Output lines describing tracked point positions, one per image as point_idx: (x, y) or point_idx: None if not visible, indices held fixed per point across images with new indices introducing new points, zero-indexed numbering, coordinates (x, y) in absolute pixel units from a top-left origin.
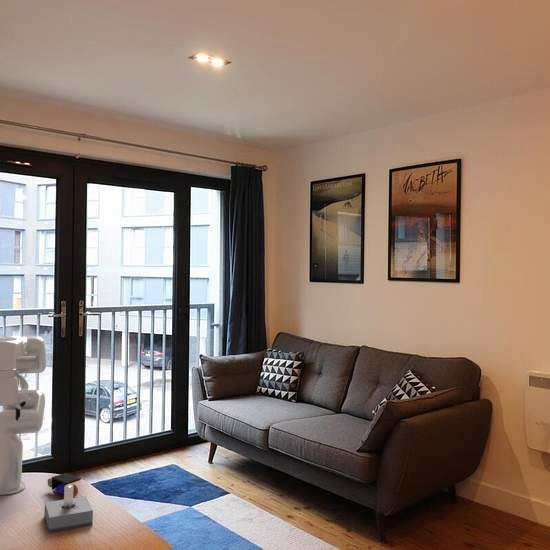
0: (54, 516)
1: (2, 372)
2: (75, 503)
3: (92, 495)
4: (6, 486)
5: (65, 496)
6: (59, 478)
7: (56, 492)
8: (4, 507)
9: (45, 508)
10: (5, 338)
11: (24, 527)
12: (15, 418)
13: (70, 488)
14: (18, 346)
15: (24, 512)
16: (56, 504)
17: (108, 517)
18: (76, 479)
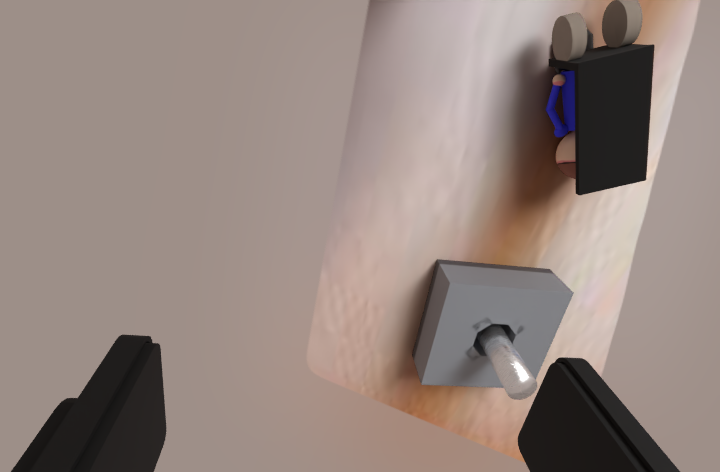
0: (434, 383)
1: None
2: (519, 330)
3: None
4: None
5: (495, 371)
6: (591, 111)
7: (556, 71)
8: (349, 113)
9: (441, 297)
10: None
11: (368, 301)
12: (553, 365)
13: (518, 396)
14: None
15: (397, 197)
16: (472, 313)
17: (566, 339)
18: (628, 180)
